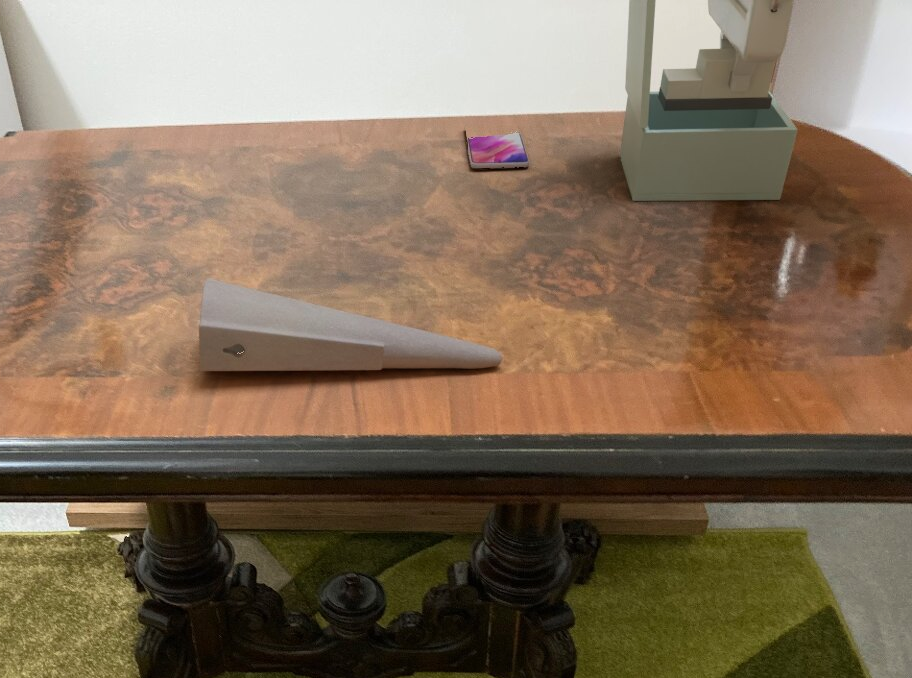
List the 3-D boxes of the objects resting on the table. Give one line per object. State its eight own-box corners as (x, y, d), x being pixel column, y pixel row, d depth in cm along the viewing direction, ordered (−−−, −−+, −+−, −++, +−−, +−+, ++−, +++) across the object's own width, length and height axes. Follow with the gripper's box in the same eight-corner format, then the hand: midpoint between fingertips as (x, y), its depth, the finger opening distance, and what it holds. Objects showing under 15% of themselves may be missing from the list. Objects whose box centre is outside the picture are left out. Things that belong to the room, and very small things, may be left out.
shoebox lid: (640, -68, 99) (592, -61, 100) (658, -42, 89) (605, -34, 90) (632, 87, 109) (589, 92, 110) (647, 127, 99) (600, 132, 100)
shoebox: (752, 154, 112) (767, 88, 107) (780, 200, 101) (798, 129, 96) (619, 156, 114) (628, 92, 109) (632, 201, 104) (643, 132, 99)
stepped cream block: (760, 95, 103) (771, 46, 100) (770, 109, 100) (781, 59, 97) (658, 97, 105) (665, 49, 102) (664, 111, 101) (672, 62, 98)
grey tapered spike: (496, 277, 83) (209, 262, 82) (511, 325, 76) (198, 308, 75) (482, 351, 87) (210, 337, 87) (495, 402, 80) (200, 387, 80)
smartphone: (517, 120, 124) (530, 162, 112) (517, 127, 125) (529, 169, 113) (463, 122, 125) (470, 163, 113) (463, 128, 125) (470, 170, 113)
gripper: (824, -41, 84) (786, 112, 92) (770, -80, 99) (742, 54, 108) (750, -38, 85) (720, 114, 93) (709, -77, 100) (686, 55, 109)
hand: (731, 81), depth 101 cm, fingers closed on stepped cream block, 4 cm apart
